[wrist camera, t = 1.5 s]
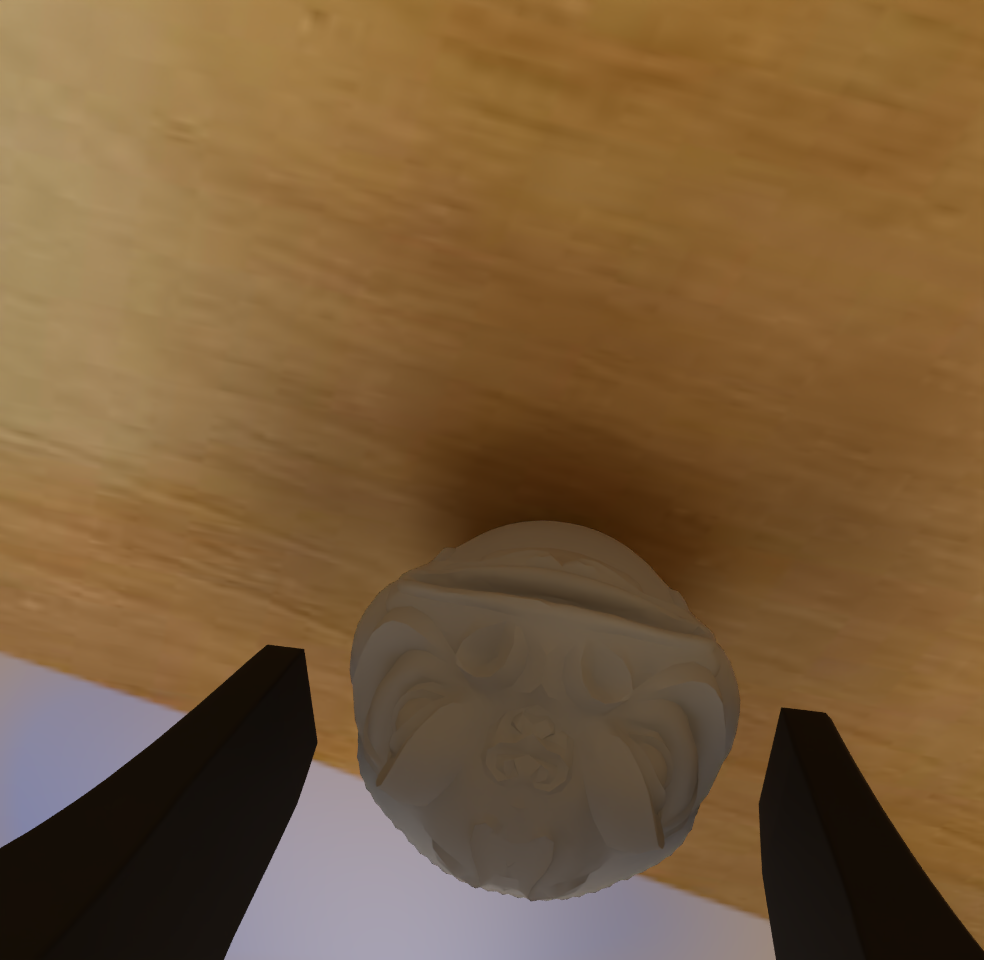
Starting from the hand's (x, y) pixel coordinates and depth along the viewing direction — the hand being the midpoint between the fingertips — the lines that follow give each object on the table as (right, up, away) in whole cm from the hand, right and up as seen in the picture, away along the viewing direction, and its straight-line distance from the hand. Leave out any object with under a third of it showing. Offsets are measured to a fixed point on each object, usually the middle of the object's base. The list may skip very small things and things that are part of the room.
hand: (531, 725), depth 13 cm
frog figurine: (+1, +2, +4) cm, 4 cm away
